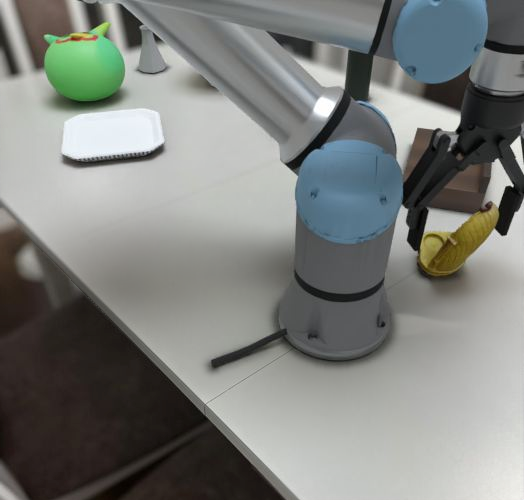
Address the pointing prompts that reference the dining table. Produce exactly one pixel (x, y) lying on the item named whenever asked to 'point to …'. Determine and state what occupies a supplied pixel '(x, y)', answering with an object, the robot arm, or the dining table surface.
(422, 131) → the brown boxy piece
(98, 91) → the toy bird
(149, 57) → the flask
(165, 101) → the dining table surface
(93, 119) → the plate
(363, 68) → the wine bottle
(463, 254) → the yellow curved piece
